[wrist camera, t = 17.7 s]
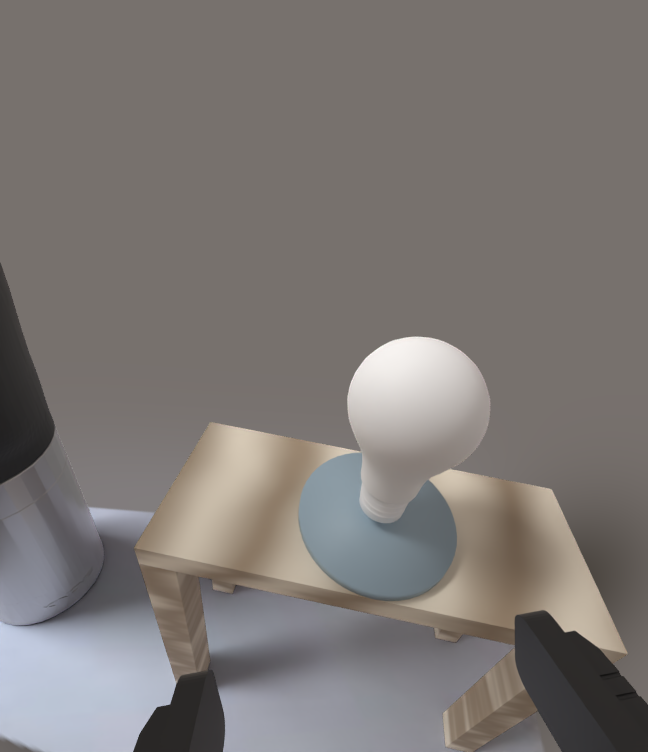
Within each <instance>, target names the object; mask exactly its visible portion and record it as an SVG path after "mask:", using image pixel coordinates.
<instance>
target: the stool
mask: <svg viewBox="0 0 648 752" xmlns="http://www.w3.org/2000/svg"><path fill="white" fill-rule="evenodd" d="M361 468H362V452H360V451H355V450H349V449H344V448H340V447H334V446H329V445H324V444H319V443H314V442H309V441H304V440H299V439H294V438H289V437H283V436H279V435H273V434H268V433H263V432H258V431H253V430H248V429H243V428H237V427H232V426H227V425H223V424H217V423H212V422H210V424H209V425H208V427H207V429H206V430H205V432H204V434H203V435H202V437H201V438H200V440H199V442H198V443H197V445H196V447H195V448H194V450H193V452H192V453H191V455H190V456H189V458H188V460H187V461H186V463H185V465H184V466H183V468H182V470H181V472H180V473H179V475H178V476H177V478H176V479H175V481H174V483H173V485H172V486H171V488H170V489H169V491H168V493H167V494H166V496H165V498H164V499H163V501H162V503H161V504H160V506H159V508H158V509H157V511H156V512H155V514H154V516H153V517H152V519H151V521H150V522H149V524H148V525H147V527H146V529H145V530H144V532H143V534H142V535H141V537H140V539H139V540H138V542H137V544H136V545H135V547H134V550H135V553H136V556H137V559H138V562H139V566H140V569H141V572H142V575H143V578H144V582H145V585H146V588H147V591H148V594H149V598H150V601H151V604H152V607H153V610H154V614H155V617H156V620H157V623H158V626H159V629H160V633H161V636H162V639H163V642H164V645H165V649H166V652H167V655H168V658H169V661H170V665H171V668H172V671H173V674H174V677H175V681H176V684H177V682H178V679H179V678H180V676H181V675H184V674H190V673H195V672H201V671H206V670H207V669H208V666H209V663H210V655H209V648H208V641H207V633H206V626H205V619H204V612H203V605H202V598H201V590H200V583H199V577H203V578H208V579H212V585H213V590H217V591H222V592H226V593H231V594H233V591H234V588H235V585H240V586H245V587H249V588H254V589H258V590H263V591H268V592H272V593H277V594H281V595H286V596H291V597H295V598H300V599H304V600H309V601H314V602H318V603H323V604H327V605H332V606H337V607H341V608H346V609H351V610H355V611H360V612H364V613H369V614H374V615H378V616H383V617H387V618H392V619H397V620H401V621H406V622H410V623H415V624H420V625H424V626H429V627H433V628H434V631H435V638H437V639H441V640H446V641H451V642H455V643H456V642H457V641H458V640H459V639H460V637H461V636H462V635H463V634H466V635H470V636H475V637H480V638H484V639H489V640H493V641H498V642H503V643H507V644H512V645H515V616H516V615H519V614H524V613H530V612H535V611H540V610H545V611H547V612H548V613H549V614H550V615H551V616H552V617H553V618H554V619H555V621H556V622H557V623H558V624H559V626H560V627H561V628H562V629H563V631H564V632H570V631H576V632H578V633H579V634H580V635H582V636H583V637H585V638H586V639H587V640H589V641H590V642H591V643H593V644H594V645H595V646H597V647H598V648H599V649H600V650H601V651H602V652H603V653H604V654H605V656H606V657H607V658H608V659H609V660H610V661H611V663H612V664H613V663H615V662H616V661H618V660H619V659H621V658H622V657H624V656H626V655H627V654H628V653H627V651H626V649H625V647H624V645H623V642H622V641H621V638H620V636H619V634H618V631H617V629H616V628H615V625H614V623H613V621H612V619H611V617H610V614H609V612H608V610H607V608H606V606H605V603H604V601H603V599H602V597H601V595H600V593H599V590H598V588H597V586H596V584H595V582H594V580H593V577H592V576H591V573H590V571H589V569H588V567H587V565H586V563H585V560H584V558H583V556H582V554H581V552H580V550H579V548H578V545H577V543H576V541H575V539H574V536H573V534H572V532H571V530H570V528H569V526H568V523H567V521H566V519H565V517H564V515H563V513H562V511H561V508H560V506H559V504H558V502H557V500H556V498H555V495H554V493H553V491H552V489H548V488H543V487H538V486H533V485H528V484H522V483H518V482H513V481H507V480H502V479H497V478H492V477H486V476H482V475H477V474H471V473H467V472H462V471H456V470H451V469H449V470H447V471H445V472H443V473H441V474H438V475H436V476H433V477H431V478H430V479H428V480H427V481H426V482H425V483H424V484H423V486H422V487H421V489H420V490H419V492H418V494H417V495H416V497H415V498H414V499H413V500H411V501H410V502H409V503H408V505H407V507H406V508H405V511H404V512H403V514H402V515H401V517H400V518H399V519H398V520H397V521H395V522H392V523H380V522H376V521H374V520H372V519H371V518H369V517H368V516H367V515H366V514H365V513H364V512H363V510H362V508H361V506H360V502H359V498H360V491H361V485H362V480H361ZM537 711H538V710H537V708H536V706H535V705H534V703H533V701H532V699H531V698H530V696H529V694H528V693H527V691H526V689H525V687H524V685H523V683H522V681H521V679H520V676H519V673H518V670H517V667H516V662H515V648H513V649H512V650H511V651H510V652H509V653H508V654H507V655H506V656H505V657H504V658H503V659H501V660H500V661H499V662H498V663H497V664H496V665H495V666H494V667H493V668H492V669H491V670H490V671H488V672H487V673H486V674H485V675H484V676H483V677H482V678H481V679H480V680H479V681H478V682H476V683H475V684H474V685H473V686H472V687H471V688H470V689H469V690H468V691H467V692H466V693H464V694H463V695H462V696H461V697H460V698H459V699H458V700H457V701H456V702H455V703H454V704H452V705H451V706H450V707H449V708H448V709H447V710H446V711H445V712H444V713H443V725H444V735H445V745H446V747H447V748H452V749H456V750H460V751H465V752H473V751H475V750H477V749H478V748H480V747H481V746H483V745H485V744H486V743H488V742H489V741H491V740H492V739H494V738H496V737H497V736H499V735H500V734H502V733H504V732H505V731H507V730H508V729H510V728H511V727H513V726H515V725H516V724H518V723H519V722H521V721H523V720H524V719H526V718H527V717H529V716H531V715H532V714H534V713H535V712H537Z"/></svg>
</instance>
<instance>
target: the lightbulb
mask: <svg viewBox="0 0 648 752" xmlns="http://www.w3.org/2000/svg"><path fill="white" fill-rule="evenodd" d="M347 402H348V418H349V421H350V424H351V427H352V430H353V433H354V435H355V438H356V440H357V442H358V444H359V446H360V448H361V452H362V468H361V480H362V485H361V491H360V498H359V502H360V506H361V508H362V510H363V512H364V513H365V514H366V515H367V516H368V517H369V518H371V519H372V520H374V521H376V522H380V523H392V522H395V521H397V520H398V519H399V518H400V517H401V515H402V514H403V512H404V511H405V508H406V507H407V505H408V503H409V502H410V501H411V500H413V499H414V498H415V497H416V495H417V494H418V492H419V490H420V489H421V487H422V486H423V484H424V483H425V482H426V481H427V480H428V479H430V478H431V477H433V476H436V475H438V474H441V473H443V472H445V471H447V470H449V469H450V468H452V467H454V466H456V465H458V464H460V463H462V462H463V461H464V460H465V459H466V458H467V457H468V456H469V455H470V454H471V453H472V452H473V451H474V450H475V449H476V448H477V447H478V446H479V444H480V442H481V440H482V438H483V436H484V434H485V432H486V430H487V427H488V422H489V416H490V397H489V393H488V390H487V386H486V382H485V380H484V378H483V376H482V375H481V373H480V371H479V369H478V367H477V366H476V365H475V364H474V363H473V362H472V361H471V359H470V358H469V357H467V355H465V354H464V353H463V352H462V351H460V350H459V349H457V348H456V347H454V346H452V345H450V344H448V343H446V342H443V341H441V340H437V339H434V338H427V337H407V338H402V339H398V340H394V341H391V342H389V343H387V344H385V345H383V346H381V347H379V348H378V349H377V350H375V351H374V352H373V353H371V354H370V355H369V356H368V357H367V358H365V360H364V361H363V363H362V364H361V365H360V367H359V368H358V369H357V371H356V372H355V375H354V377H353V379H352V381H351V384H350V388H349V392H348V397H347Z"/></svg>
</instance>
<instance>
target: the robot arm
mask: <svg viewBox="0 0 648 752" xmlns="http://www.w3.org/2000/svg"><path fill="white" fill-rule="evenodd" d="M103 562H104V548H103V544H102V541H101V539H100V536H99V534H98V531H97V529H96V526H95V524H94V521H93V518H92V516H91V513H90V511H89V508H88V506H87V503H86V501H85V499H84V496H83V494H82V491H81V489H80V486H79V484H78V481H77V479H76V476H75V474H74V471H73V469H72V466H71V464H70V462H69V459H68V456H67V454H66V451H65V449H64V447H63V445H62V442H61V439H60V437H59V434H58V432H57V430H56V427H55V424H54V421H53V419H52V416H51V414H50V412H49V409H48V406H47V403H46V400H45V397H44V393H43V390H42V387H41V384H40V381H39V378H38V375H37V372H36V369H35V367H34V364H33V362H32V359H31V356H30V354H29V351H28V348H27V345H26V342H25V339H24V336H23V333H22V330H21V326H20V323H19V319H18V316H17V313H16V309H15V306H14V303H13V299H12V296H11V292H10V289H9V286H8V283H7V280H6V278H5V275H4V272H3V269H2V266H1V264H0V621H2V622H4V623H7V624H11V625H30V624H34V623H39V622H42V621H45V620H47V619H50V618H52V617H54V616H56V615H58V614H60V613H61V612H63V611H65V610H67V609H68V608H69V607H71V606H72V605H73V604H74V603H76V602H77V601H78V600H79V599H80V598H81V597H82V596H83V595H84V594H85V593H86V592H87V591H88V590H89V589H90V588H91V586H92V585H93V584H94V582H95V581H96V579H97V577H98V575H99V573H100V571H101V569H102V565H103ZM515 662H516V667H517V670H518V673H519V676H520V679H521V681H522V683H523V685H524V687H525V689H526V691H527V693H528V694H529V696H530V698H531V699H532V701H533V703H534V705H535V706H536V708H537V710H538V711H539V713H540V715H541V716H542V718H543V720H544V722H545V723H546V725H547V727H548V728H549V730H550V732H551V734H552V735H553V737H554V739H555V741H556V742H557V744H558V746H559V747H560V749H561V751H562V752H648V705H647V703H646V702H645V701H644V700H643V699H642V698H641V697H639V696H638V695H637V693H636V691H635V690H634V688H633V687H632V686H631V685H630V684H629V682H627V680H626V679H625V678H624V677H623V676H621V675H620V673H619V671H618V670H617V668H616V667H615V666H614V665H613V664H612V663H611V661H610V660H609V659H608V658H607V657H606V656H605V654H604V653H603V652H602V651H601V650H600V649H599V648H598V647H597V646H595V645H594V644H593V643H591V642H590V641H589V640H587V639H586V638H585V637H583V636H582V635H580V634H579V633H578V632H576V631H570V632H564V631H563V629H562V628H561V627H560V626H559V624H558V623H557V622H556V621H555V619H554V618H553V617H552V616H551V615H550V614H549V613H548V612H547V611H545V610H540V611H535V612H530V613H524V614H519V615H516V616H515ZM224 737H225V720H224V712H223V708H222V704H221V700H220V696H219V692H218V689H217V685H216V681H215V677H214V674H213V671H212V670H206V671H201V672H195V673H190V674H184V675H181V676H180V678H179V679H178V682H177V684H176V687H175V691H174V694H173V697H172V701H171V704H170V705H166V706H161V707H157V708H156V710H155V711H154V713H153V714H152V716H151V717H150V719H149V720H148V722H147V723H146V725H145V726H144V728H143V730H142V731H141V733H140V734H139V737H138V740H137V743H136V746H135V748H134V751H133V752H223V747H224Z"/></svg>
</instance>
